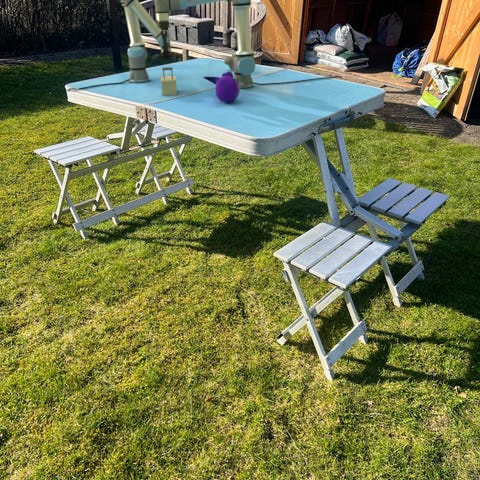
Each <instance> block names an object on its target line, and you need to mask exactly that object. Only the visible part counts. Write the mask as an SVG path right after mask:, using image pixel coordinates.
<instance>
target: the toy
mask: <svg viewBox="0 0 480 480" xmlns="http://www.w3.org/2000/svg"><path fill="white" fill-rule="evenodd" d="M233 77H234V73H233V72H231V71H227V72H224V73H222V74H221V76H203V79H205V80H206V81H208V82H210V83H212V84H214V85H215V88H214V89H215V90H214V91H215V95H216V99H218V100H219V101H220V102H221V103H226V104H228V103H230V104H231V103H233V102H234V101H236V99H237V98H238V97H239V95H240V92H241V89H240V88H239V84H238V82H237V81H236V79H234V78H233Z"/></svg>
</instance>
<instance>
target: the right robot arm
mask: <svg viewBox="0 0 480 480" xmlns="http://www.w3.org/2000/svg"><path fill="white" fill-rule="evenodd" d="M223 1H225V2H228V3H229V2H231V5H232V8H233V10H234V13H235V14H234V15H235V28H236V41H237V43H236V44H237V50H236V52H234V51H233V53H234V56H233V57H234V71H233V78H234V79H236V81H237V82H238V84H239V89H240V90H241V89H250V88H253V87H254V85H258V86H266V85H267V86H268V85H284V84H294V83H302V82H309V81H315V80H324V79H325V80H327V79H335V78H340V79H343V77H342V76H340V75H334V76H325V77H316V78H307V79H301V80H294V81H284V82H283V81H282V82H265V83H264V82H263V83H259V82H254V81H253V78H252V74H253V73H254V72H255V69H256V62H255V55H254V54H255V52H254V51H253V50H252V44H251V43H252V42H251V41H252V40H251V25H250V24H251V22H250V21H251V20H250V8H251V6H252V0H154V7H155V19H156V24H157V27H158V28H160V29H161V30H162V31H161V35H162V39H163V47H162V48H163V51H164V59H169V57H168V46H167V45H168V43H167V31H166V30H167V29H169V28H170V21H169V19H170V18H169V17H170V14H169V11H171V10H172V11H174V10H187V9H188V7H193V6H200V5H205V4H211V3H217V2H223ZM164 59H163V60H164Z"/></svg>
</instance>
